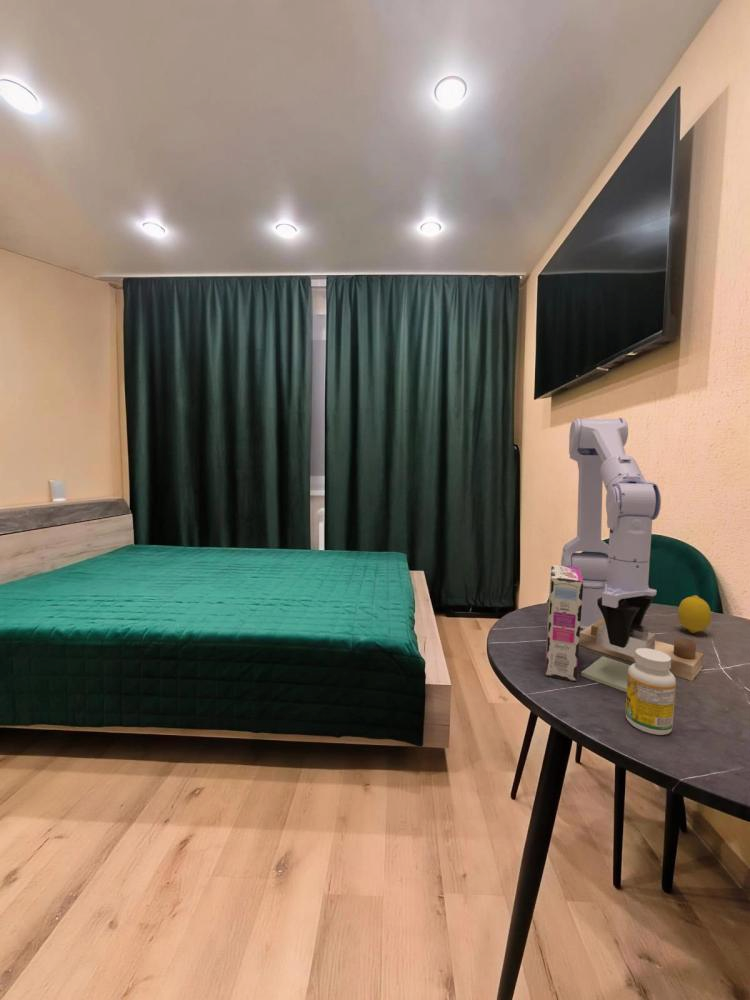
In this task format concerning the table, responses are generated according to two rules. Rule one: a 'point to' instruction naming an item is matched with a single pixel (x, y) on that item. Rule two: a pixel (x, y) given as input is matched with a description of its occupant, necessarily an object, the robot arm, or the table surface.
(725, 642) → the table surface
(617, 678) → the felt mat
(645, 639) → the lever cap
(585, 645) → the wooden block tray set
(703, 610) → the lemon
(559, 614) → the candy bar box
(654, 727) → the supplement bottle
